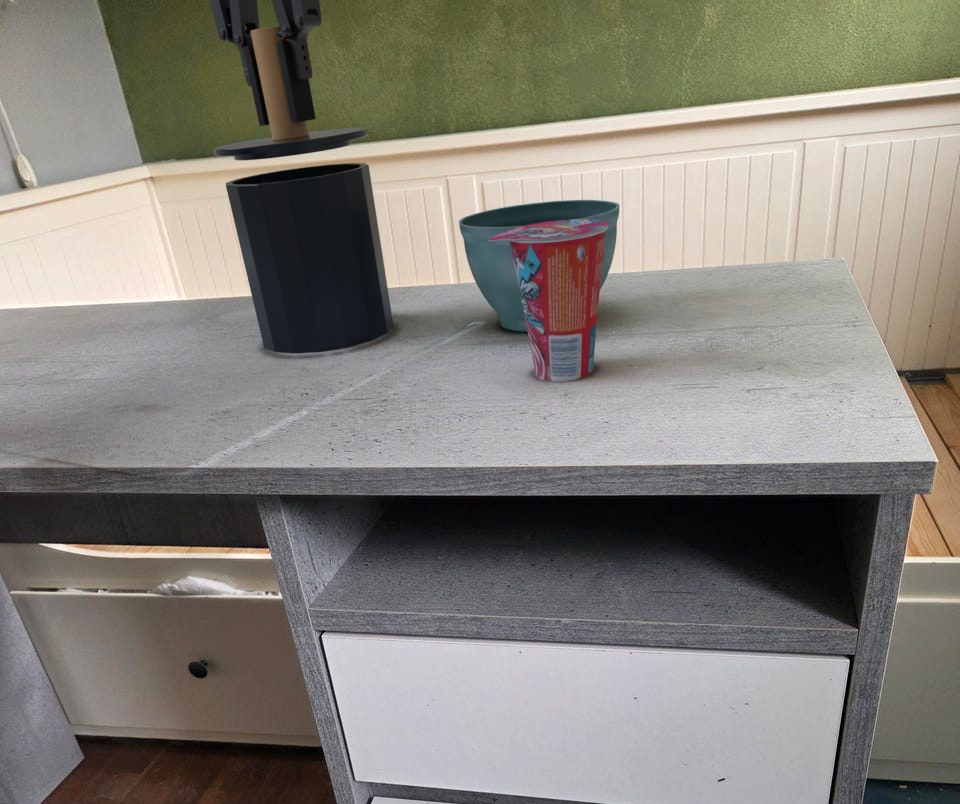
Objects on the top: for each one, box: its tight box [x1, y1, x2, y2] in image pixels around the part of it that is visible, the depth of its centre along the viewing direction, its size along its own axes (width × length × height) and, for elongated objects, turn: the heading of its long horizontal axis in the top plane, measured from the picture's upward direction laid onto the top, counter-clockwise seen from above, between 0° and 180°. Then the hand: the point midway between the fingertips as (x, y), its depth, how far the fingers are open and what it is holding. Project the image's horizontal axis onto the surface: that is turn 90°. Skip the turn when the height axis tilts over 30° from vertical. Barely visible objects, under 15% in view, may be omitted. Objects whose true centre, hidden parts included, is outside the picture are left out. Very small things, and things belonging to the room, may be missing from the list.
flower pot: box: [458, 199, 621, 333], centre depth 91 cm, size 16×16×11 cm
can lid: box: [212, 25, 369, 161], centre depth 85 cm, size 15×15×10 cm
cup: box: [489, 219, 608, 383], centre depth 75 cm, size 9×8×12 cm
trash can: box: [225, 162, 394, 355], centre depth 93 cm, size 14×14×16 cm
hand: (287, 121), depth 86 cm, fingers closed on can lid, 4 cm apart
